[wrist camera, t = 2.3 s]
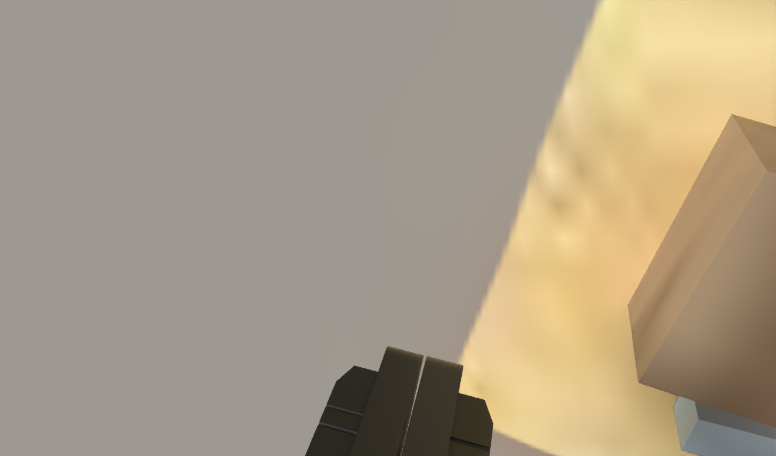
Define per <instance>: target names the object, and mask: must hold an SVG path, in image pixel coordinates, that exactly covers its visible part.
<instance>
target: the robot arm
mask: <svg viewBox="0 0 776 456" xmlns="http://www.w3.org/2000/svg"><path fill="white" fill-rule="evenodd" d="M423 357H424V356H423V355H420V354H416V353H412V352H409V351H405V350H401V349H397V348H393V347H389V346H388V347H387V349H386V351H385V354H384V357H383V360H382V363H381V365H380V368H379V371H378V372H376V371H372V370H369V369H365V368H361V367H357V366H353V367H352V368H351V369H350V370H349V371H348V372H347V373H345V374H344V375H343V376H342V377H341V378H340V379H339V380H337V381H336V383H335V386H334V388H333V390H332V393H331V395H330V397H329V400H328V402H327V406H326V407H325V410H324V412H323V414H322V417H321V419H320V422H319V425H318V426H317V429H316V431H315V433H314V436H313V438H312V441H311V443H310V445H309V448H308V450H307V452H306V455H305V456H489V455H490V447H491V438H492V430H493V422H492V419H491V416H490V413H489V411H488V408H487V405H486V402H485V400H483V399H479V398H475V397H472V396H468V395H464V394H460V393H459V387H460V382H461V377H462V371H463V365H459V364H455V363H451V362H448V361H444V360H440V359H436V358H432V357H428V356H427V358H426V361H425V365H424V369H423V373H422V377H421V380H420V384H419V388H418V392H417V396H416V400H415V404H414V407H413V403H414V398H415V394H416V389H417V384H418V380H419V375H420V371H421V366H422V362H423ZM412 407H413V411H412ZM411 412H412V415H411ZM410 416H411V419H410ZM409 420H410V423H409ZM408 424H409V426H408ZM407 428H408V430H407ZM406 433H407V434H406ZM405 437H406V438H405ZM404 441H405V442H404ZM403 444H404V446H403ZM402 448H403V450H402ZM401 452H402V453H401Z"/></svg>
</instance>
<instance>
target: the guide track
mask: <svg viewBox="0 0 776 456" xmlns="http://www.w3.org/2000/svg"><path fill="white" fill-rule="evenodd" d="M673 409H674V414H675V419H676V424H677V430H678V435H679V440H680V445H681V450H682V451H686V452H689V453H693V454H697V455H700V456H776V428H775V427H772V426H768V425H765V424H762V423H759V422H756V421H753V420H750V419H747V418H744V417H741V416H738V415H735V414H732V413H729V412H726V411H723V410H720V409H717V408H714V407H711V406H708V405H705V404H702V403H699V402H696V401H693V400H690V399H686V398H683V397H680V396H679V397H678V399H677V401H676V403H675V405H674V407H673Z"/></svg>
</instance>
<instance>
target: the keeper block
mask: <svg viewBox="0 0 776 456" xmlns="http://www.w3.org/2000/svg"><path fill="white" fill-rule="evenodd" d="M628 309H629V316H630V323H631V331H632V338H633V345H634V353H635V360H636V368H637V375H638V382H639V383H641V384H644V385H647V386H650V387H653V388H656V389H659V390H662V391H665V392H668V393H671V394H674V395H677V396H680V397H683V398H686V399H690V400H693V401H696V402H699V403H702V404H705V405H708V406H711V407H714V408H717V409H720V410H723V411H726V412H729V413H732V414H735V415H738V416H741V417H744V418H747V419H750V420H753V421H756V422H759V423H762V424H765V425H768V426H772V427H775V428H776V127H774V126H770V125H767V124H763V123H760V122H757V121H753V120H750V119H746V118H743V117H739V116H736V115H733V114H731V116H730V118H729V120H728V122H727V124H726V126H725V127H724V129H723V131H722V133H721V135H720V137H719V138H718V140H717V142H716V144H715V146H714V148H713V149H712V151H711V153H710V155H709V157H708V159H707V160H706V162H705V164H704V166H703V168H702V170H701V172H700V173H699V175H698V177H697V179H696V181H695V183H694V184H693V186H692V188H691V190H690V192H689V194H688V195H687V197H686V199H685V201H684V203H683V205H682V206H681V208H680V210H679V212H678V214H677V216H676V218H675V219H674V221H673V223H672V225H671V227H670V229H669V230H668V232H667V234H666V236H665V238H664V240H663V241H662V243H661V245H660V247H659V249H658V251H657V252H656V254H655V256H654V258H653V260H652V262H651V264H650V265H649V267H648V269H647V271H646V273H645V275H644V276H643V278H642V280H641V282H640V284H639V286H638V287H637V289H636V291H635V293H634V295H633V297H632V298H631V300H630V302H629V304H628Z"/></svg>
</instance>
